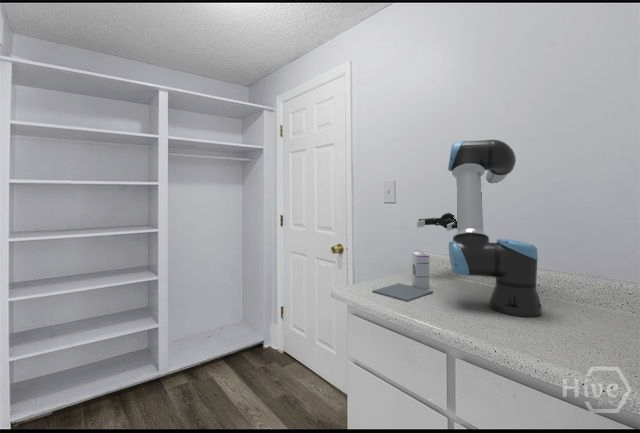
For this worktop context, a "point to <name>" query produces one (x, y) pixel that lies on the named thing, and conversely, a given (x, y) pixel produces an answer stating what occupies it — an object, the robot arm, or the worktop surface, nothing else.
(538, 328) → the worktop surface
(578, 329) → the worktop surface
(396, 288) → the mat
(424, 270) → the syrup box
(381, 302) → the worktop surface
